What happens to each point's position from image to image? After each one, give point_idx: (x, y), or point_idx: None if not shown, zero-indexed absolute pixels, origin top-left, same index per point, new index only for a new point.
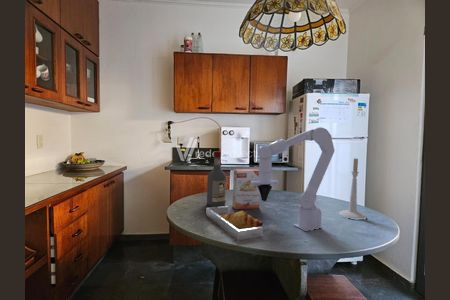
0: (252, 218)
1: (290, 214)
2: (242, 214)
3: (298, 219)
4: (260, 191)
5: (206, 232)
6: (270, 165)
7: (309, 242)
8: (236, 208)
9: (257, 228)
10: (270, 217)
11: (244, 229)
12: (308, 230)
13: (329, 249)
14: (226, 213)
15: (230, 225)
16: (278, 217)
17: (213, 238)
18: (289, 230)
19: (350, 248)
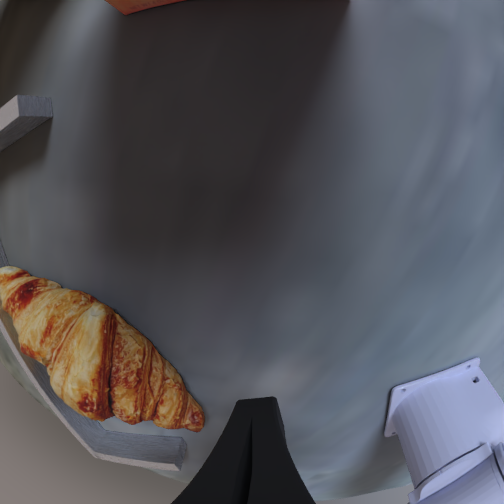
0: (144, 416)
1: (501, 209)
2: (83, 414)
3: (409, 424)
4: (194, 501)
5: (11, 359)
6: None
7: (324, 478)
8: (131, 11)
9: (158, 468)
10: (351, 245)
11: (112, 458)
12: (396, 432)
13: (342, 493)
14: (45, 120)
15: (61, 420)
16: (406, 254)
17: (41, 400)
18: (329, 426)
19: (393, 485)
